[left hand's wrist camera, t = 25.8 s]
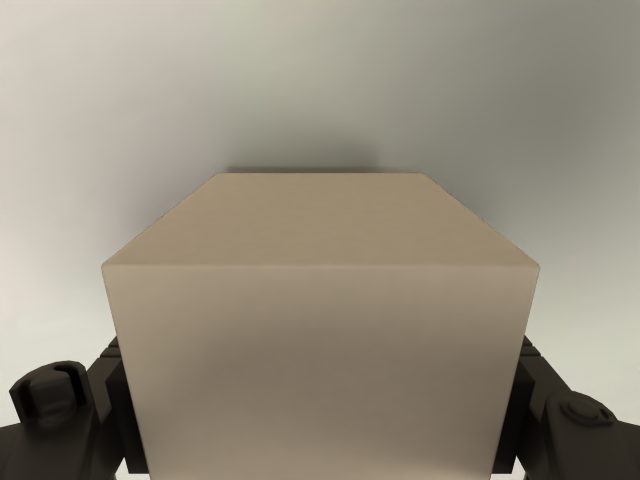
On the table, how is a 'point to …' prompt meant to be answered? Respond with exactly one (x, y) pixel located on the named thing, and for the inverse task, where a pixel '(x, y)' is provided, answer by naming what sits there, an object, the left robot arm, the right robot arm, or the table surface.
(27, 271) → the table surface
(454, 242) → the block
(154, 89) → the table surface
